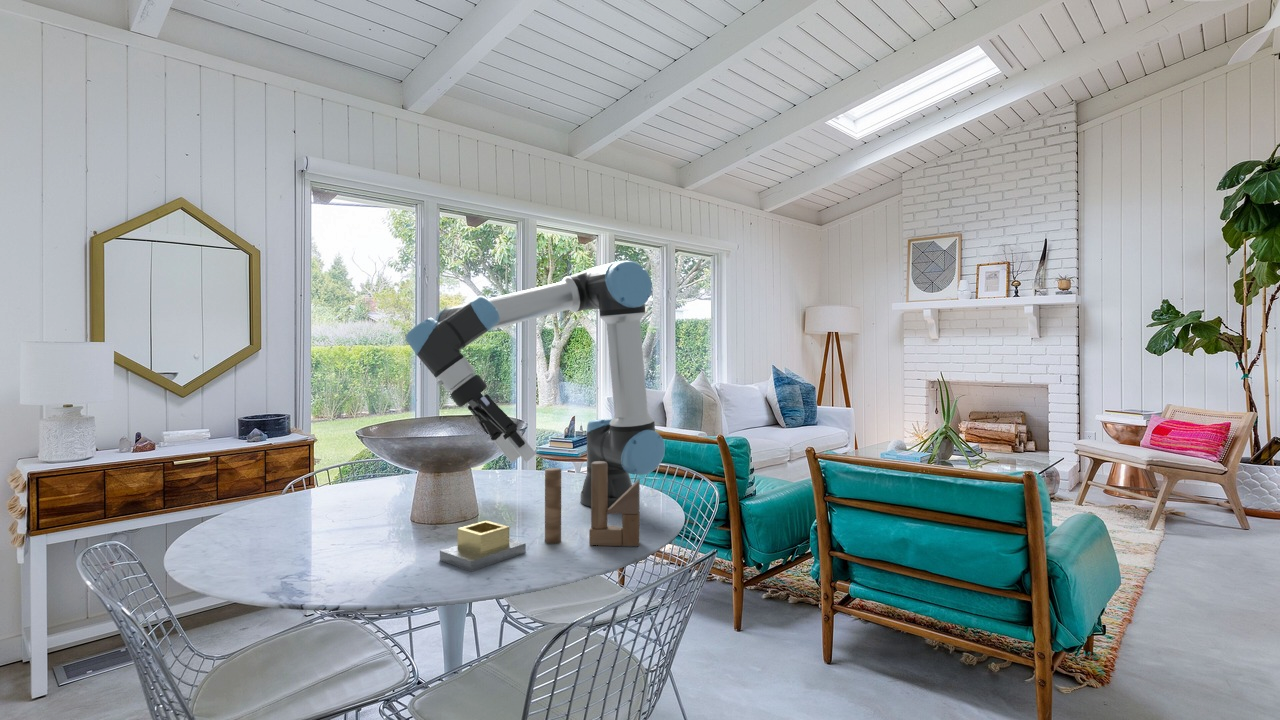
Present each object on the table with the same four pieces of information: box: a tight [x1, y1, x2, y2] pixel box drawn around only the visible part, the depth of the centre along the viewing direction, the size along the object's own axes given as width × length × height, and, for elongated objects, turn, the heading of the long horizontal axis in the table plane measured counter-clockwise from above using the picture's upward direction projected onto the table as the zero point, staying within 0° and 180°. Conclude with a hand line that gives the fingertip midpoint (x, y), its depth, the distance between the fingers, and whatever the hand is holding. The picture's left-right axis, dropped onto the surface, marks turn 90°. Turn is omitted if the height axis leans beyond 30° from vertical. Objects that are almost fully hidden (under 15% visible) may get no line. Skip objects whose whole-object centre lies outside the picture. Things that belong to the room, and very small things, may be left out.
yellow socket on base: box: [439, 520, 527, 572], centre depth 131 cm, size 14×10×6 cm
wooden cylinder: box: [544, 467, 562, 545], centre depth 141 cm, size 4×4×16 cm
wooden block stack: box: [588, 461, 641, 547], centre depth 139 cm, size 4×11×18 cm, turn 87°
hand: (523, 458), depth 141 cm, fingers open, 13 cm apart
